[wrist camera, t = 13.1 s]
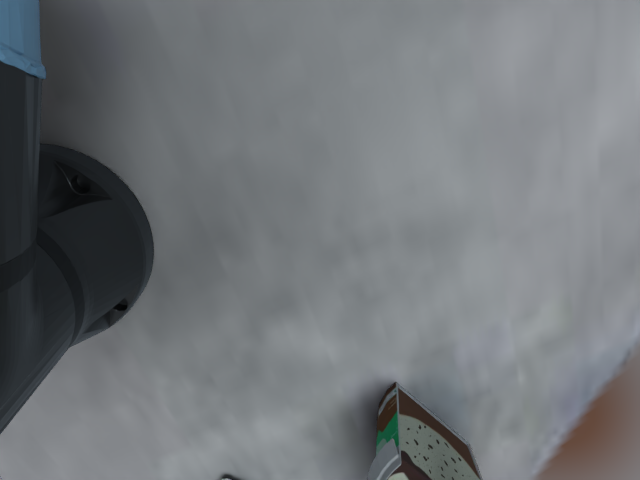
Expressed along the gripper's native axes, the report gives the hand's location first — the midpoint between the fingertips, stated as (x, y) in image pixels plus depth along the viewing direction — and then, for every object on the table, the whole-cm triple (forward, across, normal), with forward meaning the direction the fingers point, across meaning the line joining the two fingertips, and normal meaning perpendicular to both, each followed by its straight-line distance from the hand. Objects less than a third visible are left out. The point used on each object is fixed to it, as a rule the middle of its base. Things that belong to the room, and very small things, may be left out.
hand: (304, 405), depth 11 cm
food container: (+31, +3, -28) cm, 42 cm away
